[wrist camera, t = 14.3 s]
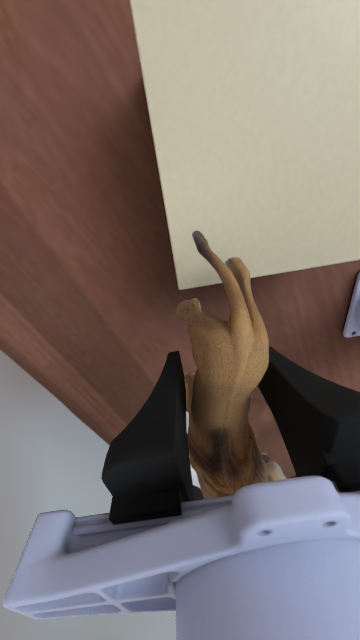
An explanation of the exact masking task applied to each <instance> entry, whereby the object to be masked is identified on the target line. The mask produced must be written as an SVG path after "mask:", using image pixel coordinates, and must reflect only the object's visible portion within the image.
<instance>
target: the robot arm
mask: <svg viewBox="0 0 360 640" xmlns="http://www.w3.org/2000/svg"><path fill="white" fill-rule="evenodd" d="M352 332H353V333H352ZM343 336H345V337H354V336H360V272H359V274H358V276H357V280H356V284H355V288H354V292H353V296H352V299H351V303H350V307H349V311H348V315H347V319H346V323H345V327H344V331H343ZM258 387H259V389H260V391H261V393H262V394H263V396H264V398H265V400H266V402H267V404H268V406H269V408H270V409H271V411H272V414H273V416H274V418H275V420H276V423H277V425H278V428H279V430H280V432H281V435H282V438H283V440H284V443H285V445H286V448H287V450H288V453H289V456H290V459H291V461H292V464H293V467H294V469H295V472H296V475H297V477H296V478H289V479H282V480H275V481H268V482H261V483H255V484H251V485H247V486H244V487H242V488H240V489H239V490H237V491H236V492H235V494H234V495H232V496H224V497H217V498H210V499H203V500H196V501H195V500H194V491H193V483H192V474H191V466H190V457H189V448H188V439H187V428H186V388H185V379H184V373H183V368H182V363H181V359H180V354H179V351H176V352H170V353H169V354H168V356H167V360H166V363H165V366H164V368H163V371H162V373H161V375H160V378H159V380H158V382H157V384H156V386H155V388H154V390H153V391H152V393H151V395H150V396H149V398H148V400H147V401H146V403H145V404H144V405H143V407H142V408H141V410H140V411H139V412H138V414H137V415H136V416H135V417H134V418H133V420H132V421H131V422H130V423H129V424H128V426H127V427H126V428H125V429H124V430H123V431H122V432H121V433H120V434H119V435H118V436H117V437H116V438H115V439H114V440H113V441H112V442H111V444H110V447H109V450H108V453H107V455H106V459H105V463H104V468H103V472H102V480H103V483H104V484H105V486H106V487H107V488H108V490H109V491H110V493H111V494H112V496H113V498H112V503H111V509H110V513H105V514H98V515H90V516H84V517H75V516H74V514H73V513H72V512H71V511H68V510H59V511H52V512H45V513H40V514H39V515H38V516H37V518H36V520H35V523H34V525H33V528H32V531H31V533H30V535H29V538H28V541H27V543H26V545H25V548H24V550H23V553H22V556H21V558H20V560H19V563H18V565H17V568H16V570H15V573H14V575H13V578H12V580H11V583H10V585H9V588H8V590H7V593H6V595H5V598H4V600H3V603H2V606H3V607H4V608H6V609H9V610H12V611H14V612H17V613H20V614H23V615H25V616H28V617H31V618H34V619H37V620H43V619H52V618H61V617H72V616H84V615H99V614H120V613H140V612H160V611H176V629H177V630H176V631H177V640H360V392H357V391H355V390H352V389H349V388H346V387H343V386H341V385H338V384H336V383H333V382H331V381H329V380H326V379H324V378H322V377H320V376H318V375H316V374H314V373H312V372H310V371H308V370H306V369H304V368H302V367H300V366H299V365H297V364H295V363H294V362H292V361H291V360H289V359H287V358H286V357H284V356H283V355H281V354H280V353H279V352H277V351H276V350H274V349H273V348H272V347H270V346H269V363H268V367H267V370H266V372H265V374H264V376H263V377H262V379H261V381H260V383H259V384H258Z"/></svg>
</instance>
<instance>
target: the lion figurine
mask: <svg viewBox="0 0 360 640" xmlns="http://www.w3.org/2000/svg"><path fill="white" fill-rule="evenodd" d="M192 236H193V239H194V241H195V244H196V247H197V250H198V252H199V254H201V255H202V256H203V257H204V258H205V259H206V260H207V261H208V262H209V263H210V264H211V265H212V267H213V268H214V269H215V270H216V272H217V273H218V275H219V277H220V279H221V281H222V283H223V285H224V287H225V290H226V293H227V296H228V300H229V305H230V311H231V314H230V315H229V316H227V318H226V320H225V321H222V320H220V319H218V318H216V317H213V316H211V315H209V314H207V313H204V312H202V311H201V305H200V302H199V300H198V299H196V298H193V299H191V300H187V301H183V302H181V303H180V304H179V305H178V307H177V309H176V314H177V316H178V317H179V318H180V319H182V320H188V333H189V338H190V341H191V344H192V353H193V358H194V360H195V362H196V364H197V367H198V369H197V371H196V372H190V373H188V374H186V375H185V377H184V379H185V382H186V383H188V401H187V408H188V412H189V427H188V433H187V439H188V448H189V456H190V464H191V466H192V468H193V469H194V471H195V472H196V474H197V477H198V482H199V484H200V488H201V491H202V493H203V495H204V497H205V498H206V499H210V498H217V497H224V496H232V495H234V494H235V492H236V491H237V490H239V489H240V488H242V487H244V486H247V485H251V484H255V483H261V482H268V481H275V480H282V479H287V478H286V477H285V475H283V473H282V470H281V468H280V467H279V466H278V465H277V464H276V463H275V462H274V461H270V460H269V458H268V456H267V455H266V454H265V453H264V452H260V451H259V448H258V447H257V444H256V440H255V437H254V433H253V430H252V427H251V426H250V424H249V422H248V412H249V404H250V395H249V394H250V393H251V392H252V391H253V390H254V388H255V387H256V386H257V385H258V384H259V383H260V381H261V379H262V377H263V376H264V374H265V372H266V370H267V367H268V363H269V342H268V336H267V331H266V328H265V325H264V322H263V320H262V318H261V316H260V314H259V311H258V309H257V307H256V304H255V302H254V299H253V296H252V292H251V284H250V279H251V275H250V272H249V270H248V268H247V267H246V266H245V265H244V263H243V262H242V260H241V259H240V258H238V257H232V258H229V259H228V260H227V261H226V262H225V263H224V262H223V261H222V260H221V259H220V258H219V257H218V256H217V255H216V254H215V253H214V252H213V251H212V250H211V248H210V247H209V245H208V241H207V239H206V238H205V237H204V236H203V234H202V233H201V232H200V231H198V230H197V231H194V232H193V233H192Z"/></svg>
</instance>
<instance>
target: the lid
mask: <svg viewBox="0 0 360 640" xmlns="http://www.w3.org/2000/svg"><path fill="white" fill-rule="evenodd" d="M130 6H131V12H132V18H133V24H134V30H135V35H136V41H137V47H138V53H139V59H140V65H141V71H142V77H143V82H144V88H145V94H146V100H147V106H148V112H149V118H150V123H151V129H152V135H153V141H154V147H155V153H156V159H157V165H158V170H159V176H160V182H161V188H162V194H163V200H164V206H165V212H166V217H167V223H168V229H169V235H170V241H171V247H172V253H173V258H174V264H175V270H176V276H177V282H178V288H179V290H183V289H189V288H195V287H201V286H207V285H213V284H219V283H222V281H221V279H220V277H219V275H218V273H217V272H216V270H215V269H214V268H213V267H212V265H211V264H210V263H209V262H208V261H207V260H206V259H205V258H204V257H203V256H202V255H201V254H199V252H198V250H197V247H196V244H195V241H194V239H193V236H192V233H193V232H194V231H197V230H198V231H200V232H201V233H202V234H203V236H204V237H205V238H206V239H207V241H208V245H209V247H210V248H211V250H212V251H213V252H214V253H215V254H216V255H217V256H218V257H219V258H220V259H221V260H222V261H223V262H224V263H225V262H226V261H227V260H228V259H229V258H232V257H238V258H240V259H241V260H242V262H243V263H244V265H245V266H246V267H247V268H248V270H249V272H250V275H251V278H254V277H260V276H266V275H272V274H278V273H284V272H290V271H296V270H302V269H308V268H314V267H320V266H325V265H331V264H337V263H343V262H349V261H355V260H360V0H130Z"/></svg>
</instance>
